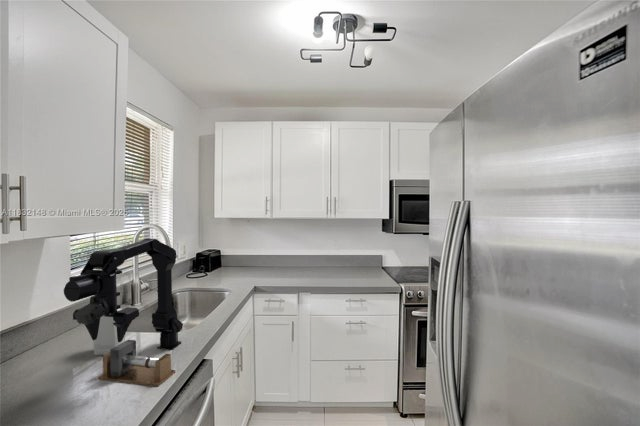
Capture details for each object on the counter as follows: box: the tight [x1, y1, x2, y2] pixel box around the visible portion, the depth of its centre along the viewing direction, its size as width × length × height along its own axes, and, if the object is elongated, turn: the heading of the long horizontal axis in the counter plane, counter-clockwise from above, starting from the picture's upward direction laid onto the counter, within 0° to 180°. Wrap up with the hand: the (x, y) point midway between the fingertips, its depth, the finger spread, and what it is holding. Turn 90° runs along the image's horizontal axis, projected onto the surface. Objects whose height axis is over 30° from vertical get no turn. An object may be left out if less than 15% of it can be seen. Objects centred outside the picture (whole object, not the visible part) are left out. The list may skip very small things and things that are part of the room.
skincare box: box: [92, 308, 126, 356], centre depth 116 cm, size 8×7×16 cm
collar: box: [110, 339, 137, 376], centre depth 100 cm, size 3×7×8 cm, turn 169°
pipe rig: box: [97, 352, 176, 388], centre depth 99 cm, size 22×8×7 cm, turn 79°
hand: (107, 340), depth 94 cm, fingers open, 9 cm apart
